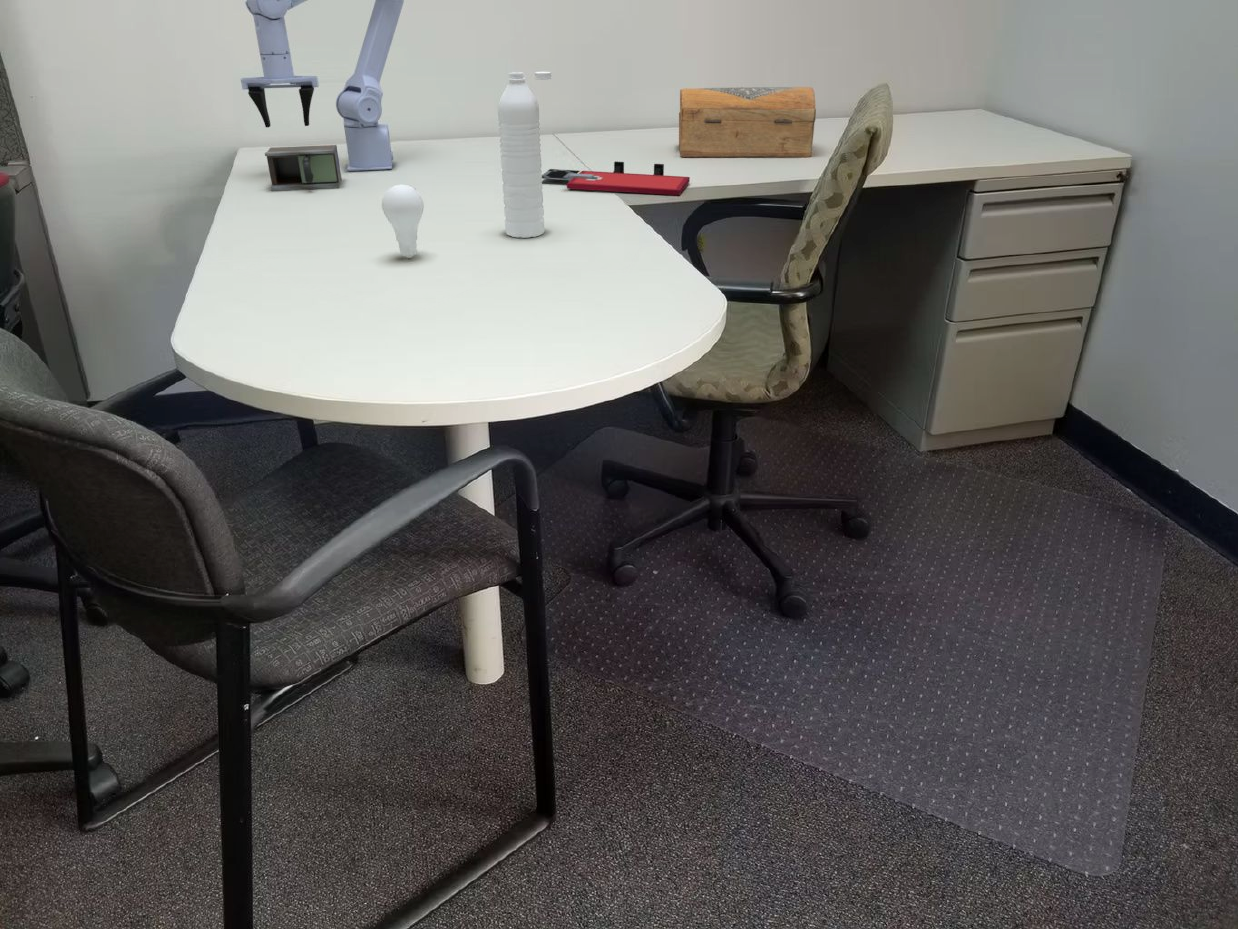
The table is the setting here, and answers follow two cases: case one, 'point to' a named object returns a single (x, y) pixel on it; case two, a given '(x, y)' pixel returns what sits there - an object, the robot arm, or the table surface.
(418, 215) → the lightbulb
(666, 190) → the red board with handle
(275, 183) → the cabinet
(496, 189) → the table surface
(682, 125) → the wooden box
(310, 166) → the closet door
